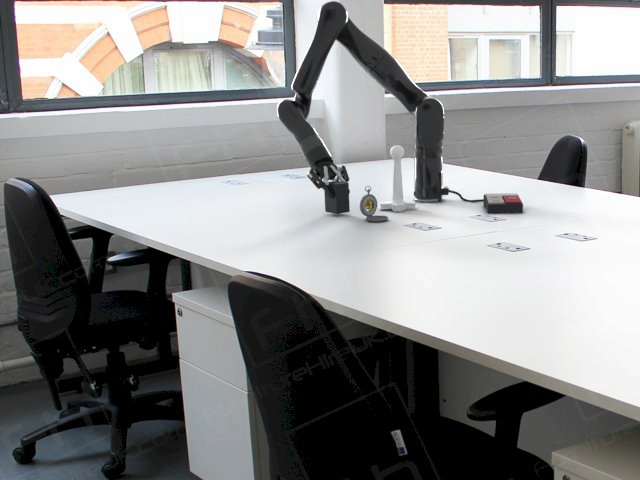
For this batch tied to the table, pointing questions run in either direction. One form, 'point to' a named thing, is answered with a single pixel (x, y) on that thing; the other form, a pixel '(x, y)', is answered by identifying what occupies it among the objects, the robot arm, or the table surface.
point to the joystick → (397, 184)
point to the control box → (503, 203)
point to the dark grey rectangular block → (338, 198)
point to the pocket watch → (371, 210)
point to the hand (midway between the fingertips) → (340, 195)
